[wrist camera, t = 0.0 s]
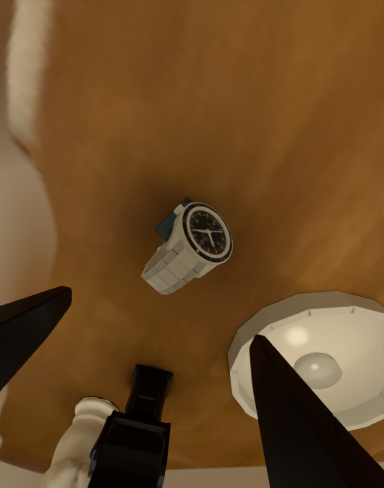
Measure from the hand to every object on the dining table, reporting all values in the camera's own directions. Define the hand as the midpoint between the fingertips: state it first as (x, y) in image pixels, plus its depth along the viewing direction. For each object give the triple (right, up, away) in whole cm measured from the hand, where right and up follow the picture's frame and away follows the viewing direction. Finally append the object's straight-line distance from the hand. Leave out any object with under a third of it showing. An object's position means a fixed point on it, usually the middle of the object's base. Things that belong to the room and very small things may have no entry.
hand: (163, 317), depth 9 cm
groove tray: (+20, -14, +20) cm, 31 cm away
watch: (+1, +6, +14) cm, 15 cm away
